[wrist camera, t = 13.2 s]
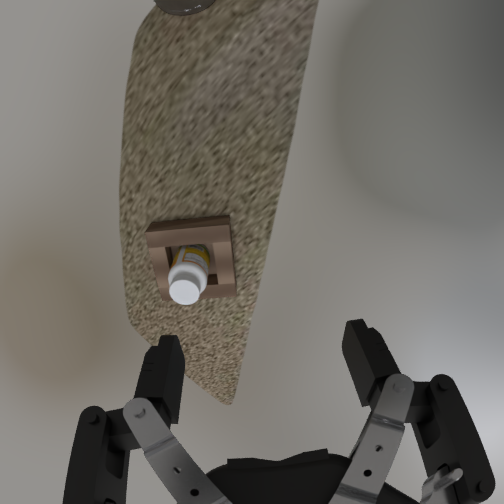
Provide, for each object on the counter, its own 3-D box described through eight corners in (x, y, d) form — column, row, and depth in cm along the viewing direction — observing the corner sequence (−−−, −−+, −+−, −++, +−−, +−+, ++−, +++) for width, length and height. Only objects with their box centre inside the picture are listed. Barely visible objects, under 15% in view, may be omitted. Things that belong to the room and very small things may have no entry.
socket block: (151, 222, 41) (144, 232, 38) (229, 215, 42) (228, 224, 38) (166, 287, 47) (162, 300, 44) (236, 283, 47) (236, 296, 44)
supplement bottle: (186, 275, 45) (176, 313, 37) (170, 247, 43) (156, 283, 34) (216, 264, 45) (212, 302, 36) (201, 235, 42) (193, 269, 34)
